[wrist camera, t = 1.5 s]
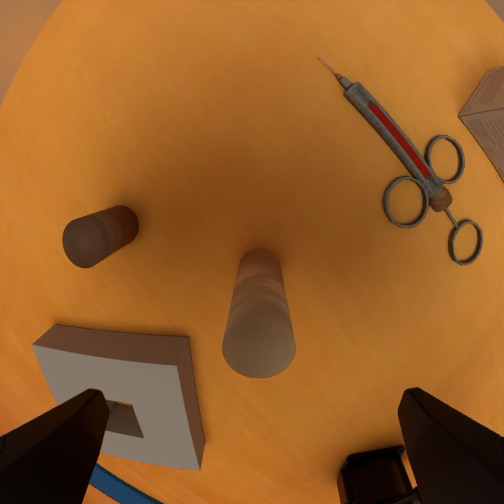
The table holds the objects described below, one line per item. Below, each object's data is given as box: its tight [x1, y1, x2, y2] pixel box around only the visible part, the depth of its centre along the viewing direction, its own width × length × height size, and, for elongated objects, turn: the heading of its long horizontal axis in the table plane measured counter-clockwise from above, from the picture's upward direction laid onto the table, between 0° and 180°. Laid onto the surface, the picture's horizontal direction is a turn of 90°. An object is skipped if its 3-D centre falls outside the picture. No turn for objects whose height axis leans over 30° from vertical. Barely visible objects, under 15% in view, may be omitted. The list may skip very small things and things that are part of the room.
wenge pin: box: [63, 206, 138, 268], centre depth 16 cm, size 3×3×5 cm
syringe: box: [316, 55, 483, 265], centre depth 17 cm, size 8×18×2 cm, turn 45°
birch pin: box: [222, 249, 296, 378], centre depth 15 cm, size 3×3×9 cm
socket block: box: [32, 324, 205, 471], centre depth 21 cm, size 12×12×4 cm
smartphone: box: [89, 463, 163, 504], centre depth 28 cm, size 7×1×15 cm
